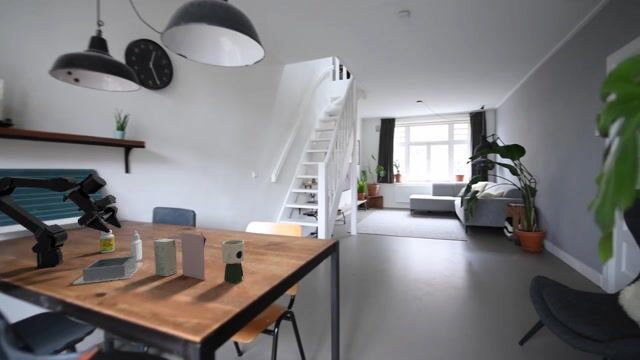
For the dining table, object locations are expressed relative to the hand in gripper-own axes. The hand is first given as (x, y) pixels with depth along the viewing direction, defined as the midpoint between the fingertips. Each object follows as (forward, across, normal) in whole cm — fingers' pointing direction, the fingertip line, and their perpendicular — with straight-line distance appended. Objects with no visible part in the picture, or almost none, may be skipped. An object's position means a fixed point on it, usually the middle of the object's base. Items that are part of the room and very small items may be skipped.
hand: (115, 229), depth 117 cm
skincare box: (+26, -20, -10) cm, 35 cm away
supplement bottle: (+2, +18, +17) cm, 25 cm away
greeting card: (+34, -25, -18) cm, 46 cm away
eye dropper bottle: (+15, 0, +3) cm, 15 cm away
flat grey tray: (+13, -16, +5) cm, 21 cm away
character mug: (+43, -32, -28) cm, 61 cm away
